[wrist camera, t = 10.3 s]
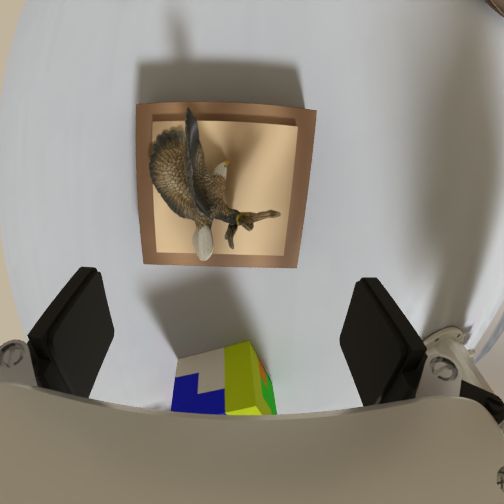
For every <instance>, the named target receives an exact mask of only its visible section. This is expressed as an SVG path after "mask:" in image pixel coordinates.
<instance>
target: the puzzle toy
mask: <svg viewBox="0 0 504 504" xmlns="http://www.w3.org/2000/svg"><path fill="white" fill-rule="evenodd" d="M171 411H173V412H183V413H197V414H215V415H277V411H276V405H275V399H274V392H273V386H272V383H271V381H270V379H269V377H268V375H267V373H266V371H265V370H264V368H263V366H262V364H261V362H260V360H259V358H258V356H257V354H256V352H255V350H254V348H253V347H252V345H251V343H250V341H245V342H242V343H238V344H235V345H231V346H227V347H224V348H220V349H216V350H212V351H209V352H205V353H201V354H197V355H193V356H189V357H185V358H180V359H178V362H177V369H176V376H175V383H174V390H173V398H172V405H171Z"/></svg>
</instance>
